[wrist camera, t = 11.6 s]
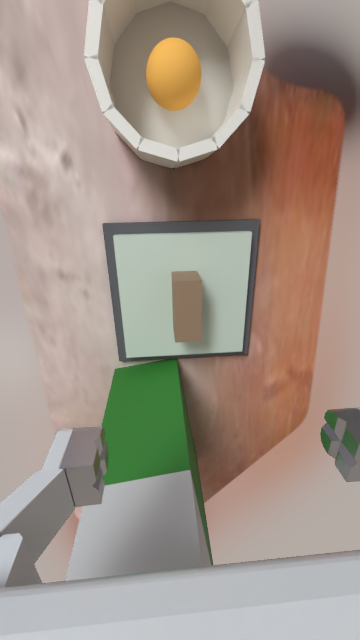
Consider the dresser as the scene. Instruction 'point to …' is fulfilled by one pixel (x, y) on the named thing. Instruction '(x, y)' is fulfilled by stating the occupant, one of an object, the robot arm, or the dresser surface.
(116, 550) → the hardback book
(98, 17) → the bowl
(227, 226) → the mat
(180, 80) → the ball
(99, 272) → the dresser surface
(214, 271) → the lid
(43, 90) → the dresser surface
